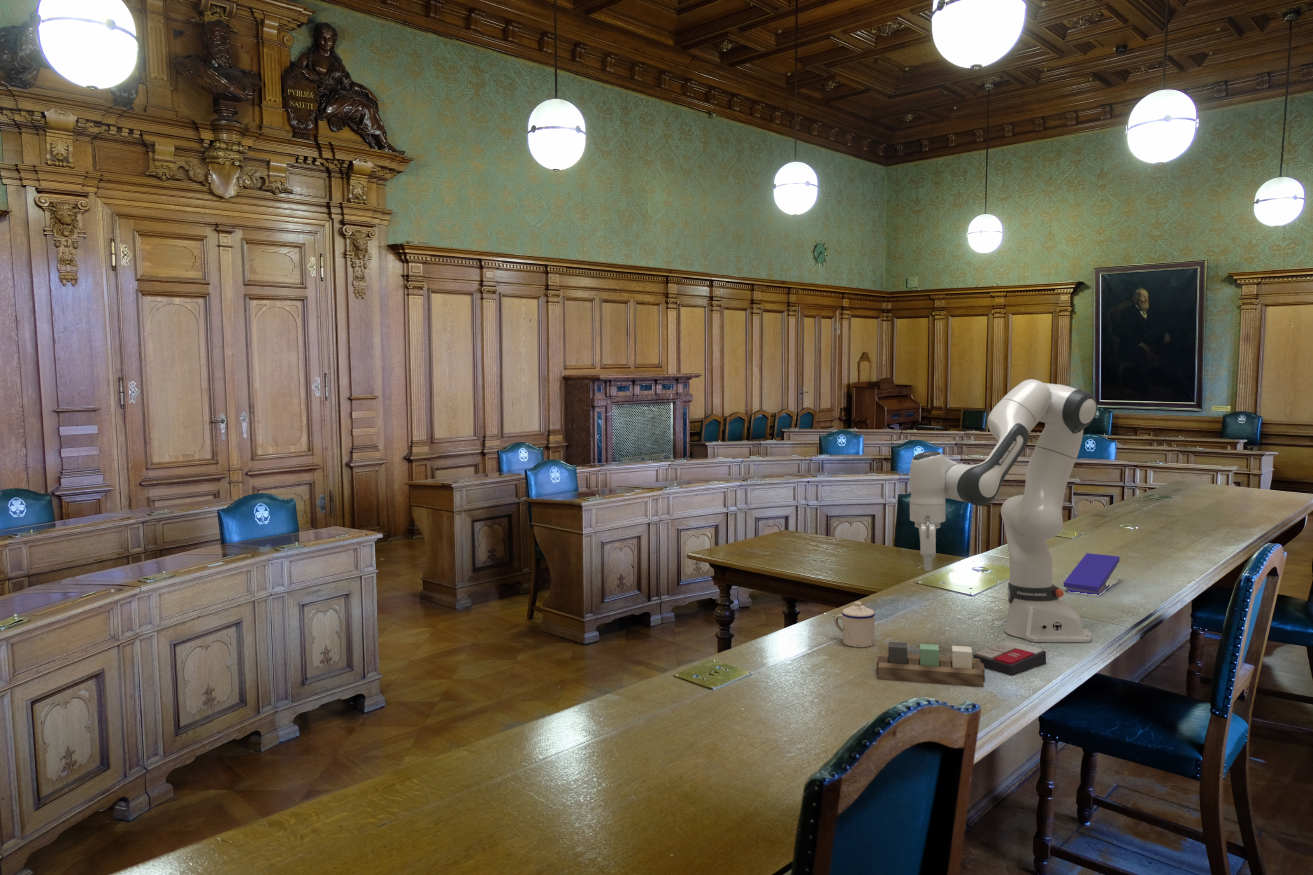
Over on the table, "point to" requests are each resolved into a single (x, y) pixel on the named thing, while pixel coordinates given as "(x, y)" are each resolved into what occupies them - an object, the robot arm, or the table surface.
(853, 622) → the teacup with lid
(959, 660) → the cream white block
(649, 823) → the table surface
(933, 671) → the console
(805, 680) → the table surface
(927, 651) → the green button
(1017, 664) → the push button box
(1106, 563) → the purple sloped board
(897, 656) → the dark grey block
